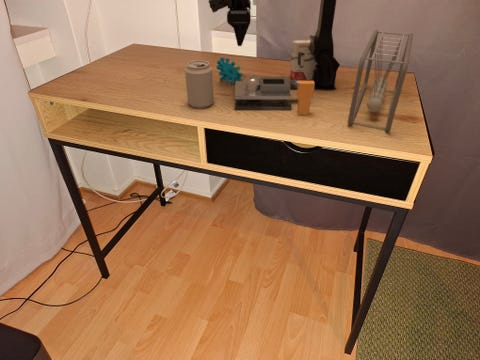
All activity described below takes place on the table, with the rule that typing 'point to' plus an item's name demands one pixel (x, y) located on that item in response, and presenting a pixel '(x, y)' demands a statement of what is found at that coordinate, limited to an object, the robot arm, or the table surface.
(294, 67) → the ink box
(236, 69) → the gear
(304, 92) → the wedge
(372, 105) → the newton's cradle
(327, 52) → the robot arm
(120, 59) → the table surface
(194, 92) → the can
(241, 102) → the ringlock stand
